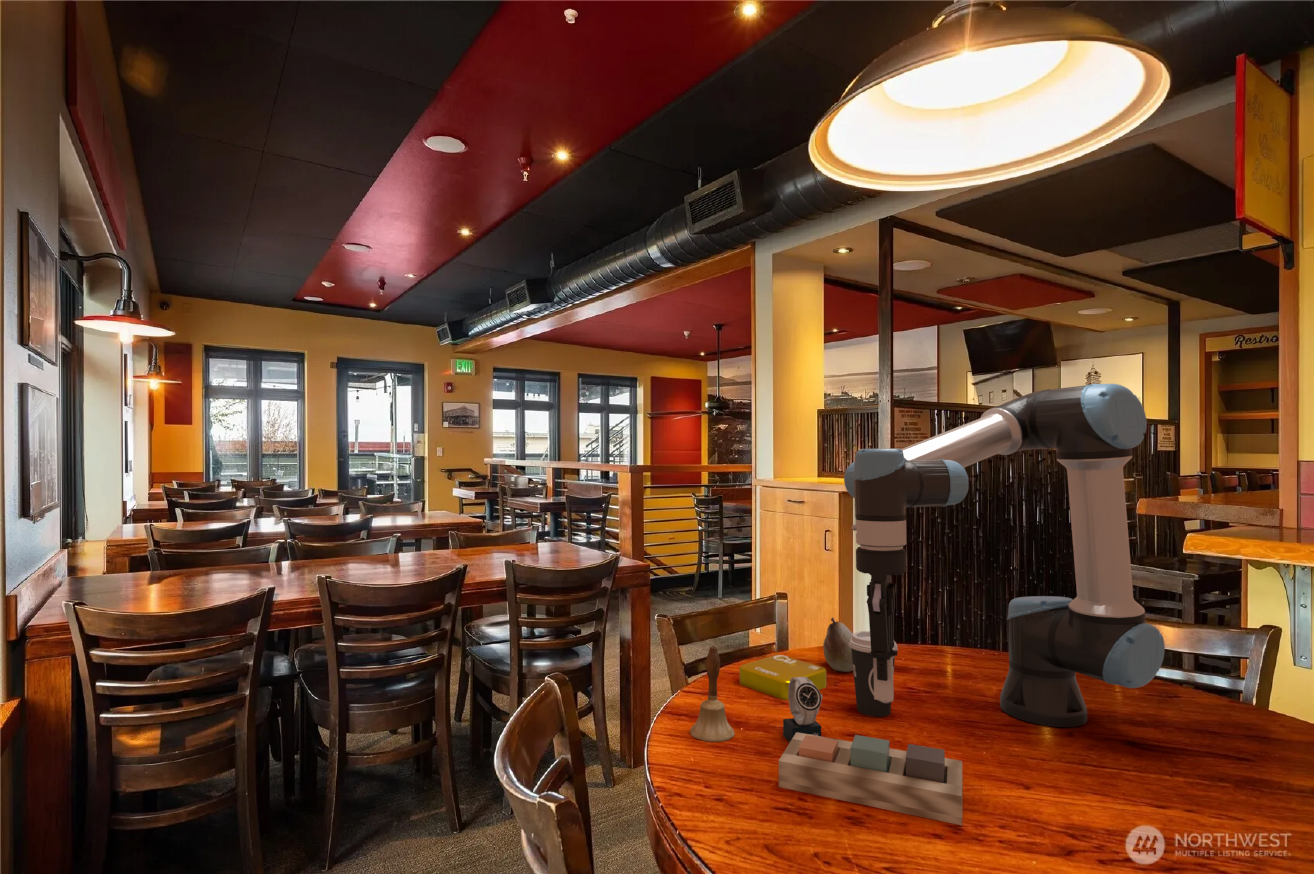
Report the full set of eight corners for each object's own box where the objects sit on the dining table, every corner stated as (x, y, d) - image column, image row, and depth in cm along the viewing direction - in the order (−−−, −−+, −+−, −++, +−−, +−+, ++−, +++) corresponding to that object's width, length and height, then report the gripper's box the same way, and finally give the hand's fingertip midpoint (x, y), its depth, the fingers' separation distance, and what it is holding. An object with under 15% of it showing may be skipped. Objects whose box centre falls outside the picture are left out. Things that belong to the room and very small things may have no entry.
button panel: (962, 786, 104) (962, 760, 104) (962, 825, 93) (961, 796, 93) (796, 755, 114) (796, 732, 115) (778, 786, 104) (778, 760, 104)
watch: (797, 750, 116) (796, 687, 117) (779, 732, 124) (779, 672, 125) (826, 747, 118) (826, 684, 118) (807, 729, 125) (807, 670, 126)
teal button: (889, 766, 105) (889, 740, 105) (886, 780, 100) (885, 753, 100) (855, 759, 107) (855, 734, 107) (850, 773, 102) (850, 747, 102)
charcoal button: (944, 776, 102) (944, 749, 102) (943, 791, 97) (943, 763, 97) (908, 769, 104) (908, 743, 104) (905, 784, 99) (905, 757, 99)
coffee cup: (891, 702, 139) (891, 630, 140) (904, 720, 130) (903, 643, 130) (845, 701, 140) (844, 629, 141) (854, 718, 131) (853, 641, 131)
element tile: (735, 684, 152) (735, 663, 152) (778, 671, 161) (778, 651, 162) (787, 703, 140) (787, 680, 140) (830, 687, 150) (830, 666, 150)
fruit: (827, 660, 168) (826, 613, 169) (865, 665, 165) (865, 616, 165) (820, 672, 159) (819, 622, 159) (861, 677, 155) (860, 626, 156)
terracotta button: (838, 765, 108) (837, 740, 108) (832, 779, 103) (832, 753, 104) (806, 759, 110) (805, 734, 111) (799, 772, 106) (798, 747, 106)
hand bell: (735, 725, 128) (734, 641, 128) (733, 743, 119) (733, 654, 120) (692, 722, 129) (692, 639, 129) (687, 740, 121) (687, 652, 121)
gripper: (862, 540, 112) (865, 682, 111) (848, 550, 100) (851, 709, 99) (910, 542, 108) (913, 688, 108) (901, 553, 97) (904, 717, 96)
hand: (883, 698), depth 103 cm, fingers closed
